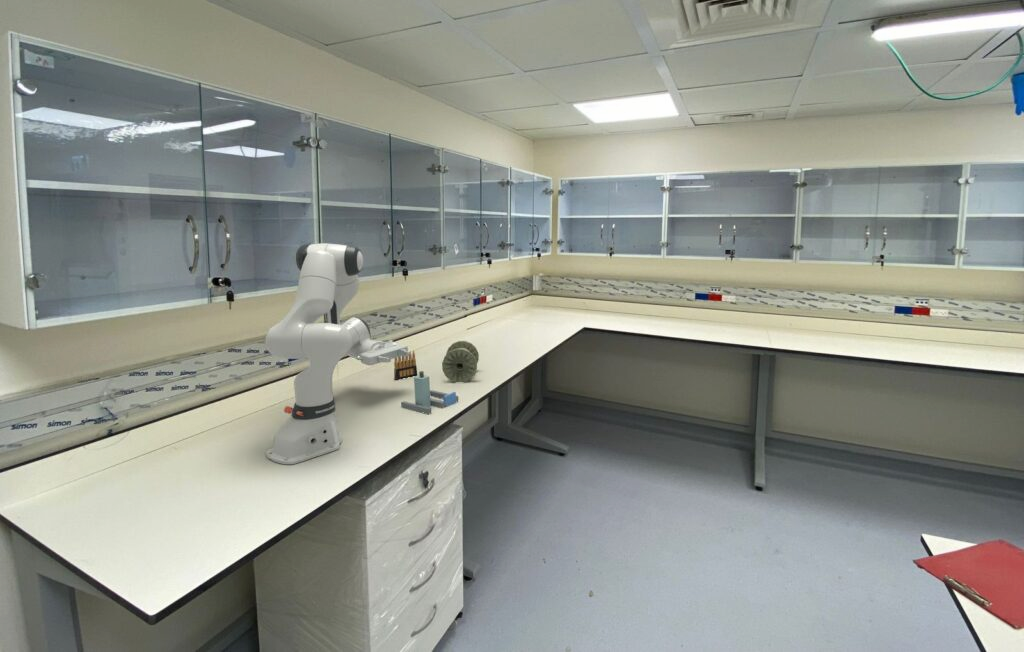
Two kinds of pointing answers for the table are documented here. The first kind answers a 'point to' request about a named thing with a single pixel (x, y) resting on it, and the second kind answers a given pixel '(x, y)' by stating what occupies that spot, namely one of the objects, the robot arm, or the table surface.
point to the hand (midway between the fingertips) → (398, 357)
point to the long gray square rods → (432, 402)
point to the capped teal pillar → (422, 390)
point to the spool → (460, 361)
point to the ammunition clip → (405, 367)
